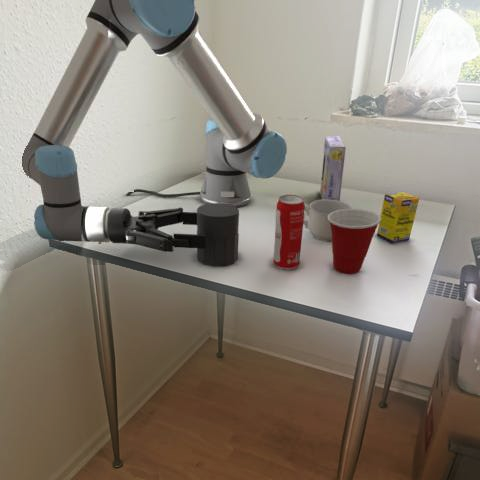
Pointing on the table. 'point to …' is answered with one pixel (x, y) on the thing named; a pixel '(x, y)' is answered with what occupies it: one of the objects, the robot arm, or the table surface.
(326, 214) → the teacup
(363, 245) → the plastic cup
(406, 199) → the supplement box
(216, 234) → the dark grey cup
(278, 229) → the beverage can
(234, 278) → the table surface
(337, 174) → the cake pan box
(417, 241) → the table surface
